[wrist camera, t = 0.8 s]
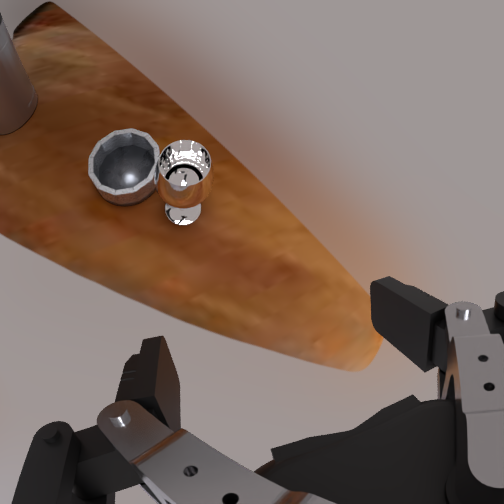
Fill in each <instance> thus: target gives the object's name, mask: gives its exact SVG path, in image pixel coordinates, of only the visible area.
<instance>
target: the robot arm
mask: <svg viewBox="0 0 504 504" xmlns="http://www.w3.org/2000/svg"><path fill="white" fill-rule="evenodd" d="M37 99H38V98H37V94H36V92H35V90H34V87H33V86H32V84H31V82H30V79H29V77H28V75H27V73H26V71H25V69H24V67H23V65H22V62H21V60H20V58H19V56H18V54H17V51H16V49H15V47H14V45H13V42H12V40H11V38H10V35H9V33H8V31H7V28H6V26H5V24H4V21H3V18H2V16H1V13H0V135H4V134H8V133H11V132H13V131H15V130H17V129H18V128H20V127H21V126H22V125H23V124H24V123H25V122H26V121H27V120H28V119H29V118H30V117H31V115H32V114H33V112H34V110H35V108H36V105H37ZM370 295H371V319H372V323H373V326H374V328H375V330H376V331H377V332H378V333H379V334H380V335H381V336H383V337H384V338H385V339H386V340H387V341H389V342H390V343H391V344H392V345H393V346H394V347H396V348H397V349H398V350H399V351H401V352H402V353H403V354H404V355H405V356H406V357H407V358H409V359H410V360H411V361H412V362H413V363H414V364H416V365H417V366H418V367H419V368H420V369H421V370H423V371H424V372H427V371H429V370H430V369H432V368H434V367H436V366H438V367H439V368H438V375H437V381H438V382H437V383H438V384H437V385H438V386H437V387H438V399H437V400H429V401H424V402H420V401H419V400H418V399H417V398H416V397H415V396H414V395H411V396H409V397H407V398H405V399H403V400H401V401H398V402H396V403H394V404H392V405H390V406H388V407H386V408H383V409H382V410H380V411H379V412H378V413H376V414H375V415H373V416H372V417H371V418H369V419H368V420H366V421H365V422H363V423H362V424H360V425H359V426H358V427H356V428H354V429H352V430H349V431H345V432H339V433H333V434H327V435H321V436H314V437H309V438H305V439H302V440H299V441H296V442H293V443H289V444H286V445H283V446H279V447H276V448H272V449H271V452H272V456H273V460H272V461H270V462H268V463H266V464H265V465H263V466H261V467H260V468H258V469H257V470H256V471H254V472H253V471H251V470H249V469H247V468H245V467H244V466H242V465H240V464H238V463H237V462H235V461H233V460H232V459H230V458H228V457H227V456H225V455H223V454H222V453H220V452H219V451H217V450H216V449H214V448H212V447H211V446H209V445H208V444H206V443H205V442H203V441H202V440H200V439H199V438H197V437H196V436H194V435H193V434H191V433H190V432H188V431H186V430H184V429H182V428H181V424H180V383H179V378H178V374H177V371H176V368H175V365H174V363H173V360H172V357H171V354H170V352H169V349H168V346H167V343H166V340H165V338H164V336H158V337H153V338H148V339H144V340H143V342H142V346H141V350H140V354H135V355H132V356H131V357H130V358H129V360H128V361H127V362H126V363H125V366H124V369H123V374H122V377H121V381H120V384H119V388H118V391H117V395H116V399H115V403H112V404H110V405H108V406H107V407H105V408H104V409H103V410H102V411H101V412H100V414H99V415H98V418H97V425H95V426H93V427H90V428H87V429H84V430H81V431H77V432H74V431H73V429H72V428H71V427H70V425H69V424H68V423H66V422H61V421H57V422H52V423H49V424H47V425H45V426H43V427H42V428H40V429H39V430H38V431H37V432H36V434H35V435H34V437H33V440H32V443H31V445H30V448H29V451H28V454H27V457H26V460H25V462H24V465H23V469H22V472H21V474H20V477H19V481H18V484H17V487H16V490H15V494H14V497H13V501H12V504H115V492H117V491H120V490H123V489H126V488H129V487H132V486H135V485H139V486H140V487H141V488H142V489H143V490H144V491H145V492H146V493H147V494H148V495H149V496H150V497H151V498H152V499H153V500H154V501H155V502H156V503H157V504H504V291H503V292H500V293H498V294H497V295H496V298H495V306H494V308H490V309H486V310H482V309H481V308H480V307H479V306H478V305H476V304H474V303H470V302H455V303H452V304H450V305H448V304H446V303H444V302H442V301H440V300H439V299H437V298H435V297H433V296H430V295H429V294H427V293H426V292H423V291H422V290H420V289H418V288H416V287H414V286H410V285H405V284H403V283H401V282H400V281H398V280H396V279H394V278H392V277H390V276H388V277H385V278H382V279H379V280H376V281H373V282H372V283H371V285H370Z"/></svg>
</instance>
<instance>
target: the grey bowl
mask: <svg viewBox="0 0 504 504" xmlns="http://www.w3.org/2000/svg"><path fill="white" fill-rule="evenodd" d="M159 156H160V153H159V146H158V145H157V144H156V142H155V141H154V140H153V139H152V137H151V136H150V135H149V134H148V133H145V132H142V131H139V130H136V129H133V128H131V129H124V130H118V131H113V132H112V133H110V134H109V135H107V136H106V137H104V138H103V139H101V140H100V141H99V142H98V143H97V144H96V146H95V148H94V149H93V151H92V153H91V154H90V156H89V176H90V178H91V180H92V181H93V183H94V185H95V186H96V188H97V189H98V191H99V192H100V194H101V195H102V197H103V198H104V199H105V200H107V201H108V202H110V203H112V204H114V205H117V206H132V205H136V204H139V203H141V202H143V201H144V200H146V199H147V198H148V197H150V196H151V195H152V194H153V193H154V191H155V190H156V187H155V182H154V173H155V168H156V164H157V161H158V159H159Z"/></svg>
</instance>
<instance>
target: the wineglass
mask: <svg viewBox="0 0 504 504" xmlns="http://www.w3.org/2000/svg"><path fill="white" fill-rule="evenodd" d="M213 181H214V169H213V164H212V161H211V158H210V155H209V153H208V151H207V150H206V149H205V148H204V147H203V146H202V145H201V144H199V143H197V142H195V141H190V140H180V141H176V142H173V143H171V144H170V145H168V146H167V147H166V148H165V149H164V150H163V151H162V153H161V155H160V156H159V159H158V161H157V164H156V168H155V173H154V182H155V187H156V190H157V192H158V194H159V196H160V197H161V198H162V200H163V201H164V202H165V203H166V204H165V213H166V215H167V217H168V219H169V220H170V221H171V222H173V223H175V224H177V225H189V224H191V223H193V222H194V221H195V220H197V218H198V217H199V215H200V213H201V203H202V202H203V201H204V200H205V199H206V198H207V196H208V195H209V193H210V191H211V189H212V186H213Z"/></svg>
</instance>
